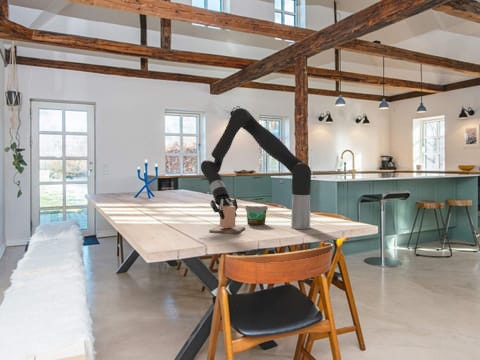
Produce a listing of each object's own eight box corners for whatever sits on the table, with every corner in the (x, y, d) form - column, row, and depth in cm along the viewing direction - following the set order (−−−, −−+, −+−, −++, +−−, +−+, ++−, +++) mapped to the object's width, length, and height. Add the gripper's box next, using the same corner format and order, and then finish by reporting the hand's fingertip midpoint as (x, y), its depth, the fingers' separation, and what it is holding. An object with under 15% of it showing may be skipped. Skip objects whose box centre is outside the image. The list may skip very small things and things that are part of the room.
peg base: (245, 229, 175) (245, 212, 175) (237, 234, 163) (237, 216, 162) (218, 227, 179) (218, 211, 179) (209, 232, 167) (209, 215, 166)
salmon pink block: (230, 225, 175) (230, 205, 174) (235, 227, 170) (235, 206, 169) (219, 226, 172) (220, 205, 171) (224, 228, 167) (225, 207, 167)
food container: (242, 225, 185) (242, 206, 184) (245, 223, 191) (245, 205, 190) (265, 226, 182) (265, 207, 181) (267, 224, 188) (267, 205, 187)
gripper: (208, 186, 173) (218, 214, 163) (234, 185, 180) (245, 212, 170) (204, 196, 178) (213, 223, 168) (229, 195, 185) (239, 221, 175)
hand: (229, 217), depth 169 cm, fingers closed on salmon pink block, 5 cm apart
